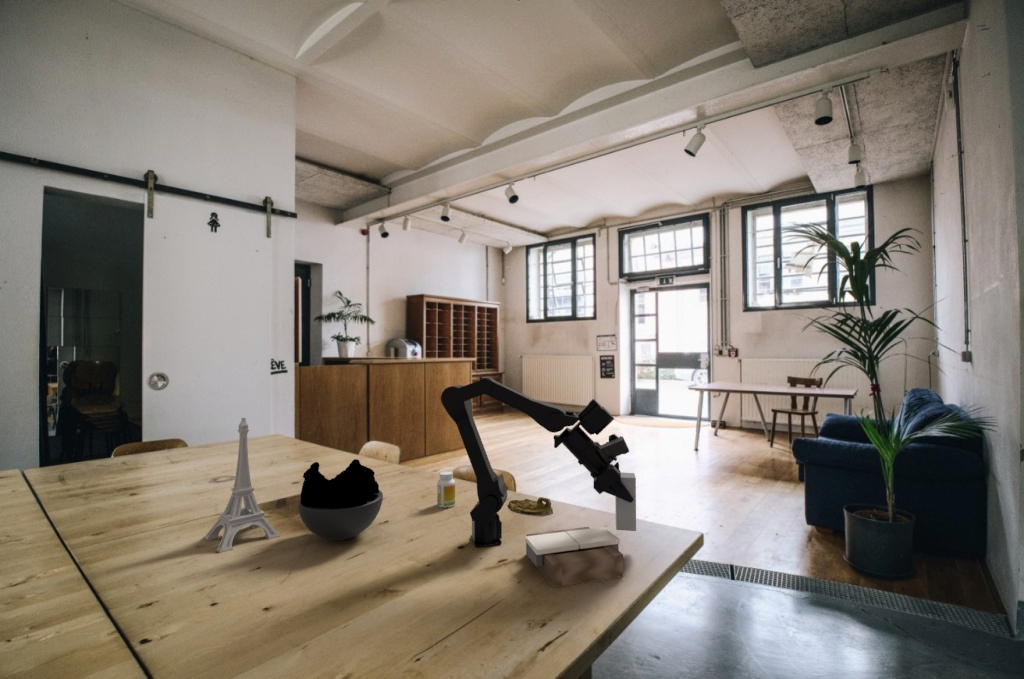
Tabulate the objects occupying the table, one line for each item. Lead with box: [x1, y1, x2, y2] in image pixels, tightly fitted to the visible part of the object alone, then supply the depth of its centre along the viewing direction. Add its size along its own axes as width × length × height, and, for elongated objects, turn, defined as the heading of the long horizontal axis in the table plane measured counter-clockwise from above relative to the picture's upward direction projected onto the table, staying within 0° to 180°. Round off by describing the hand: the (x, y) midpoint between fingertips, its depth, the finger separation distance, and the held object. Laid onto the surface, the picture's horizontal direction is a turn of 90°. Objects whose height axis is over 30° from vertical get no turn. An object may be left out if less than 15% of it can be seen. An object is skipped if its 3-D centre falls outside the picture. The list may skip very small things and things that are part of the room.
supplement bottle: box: [436, 471, 456, 509], centre depth 142 cm, size 5×5×10 cm
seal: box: [508, 496, 554, 516], centre depth 139 cm, size 9×5×15 cm
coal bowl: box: [297, 458, 384, 541], centre depth 118 cm, size 20×20×19 cm
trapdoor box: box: [526, 526, 624, 588], centre depth 102 cm, size 16×16×4 cm
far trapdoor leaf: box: [566, 526, 621, 552], centre depth 104 cm, size 9×7×4 cm
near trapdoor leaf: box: [524, 532, 579, 567], centre depth 101 cm, size 9×7×4 cm
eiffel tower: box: [203, 417, 281, 554], centre depth 119 cm, size 13×13×30 cm
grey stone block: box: [614, 472, 637, 532], centre depth 110 cm, size 4×4×12 cm
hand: (631, 498), depth 109 cm, fingers closed on grey stone block, 4 cm apart
